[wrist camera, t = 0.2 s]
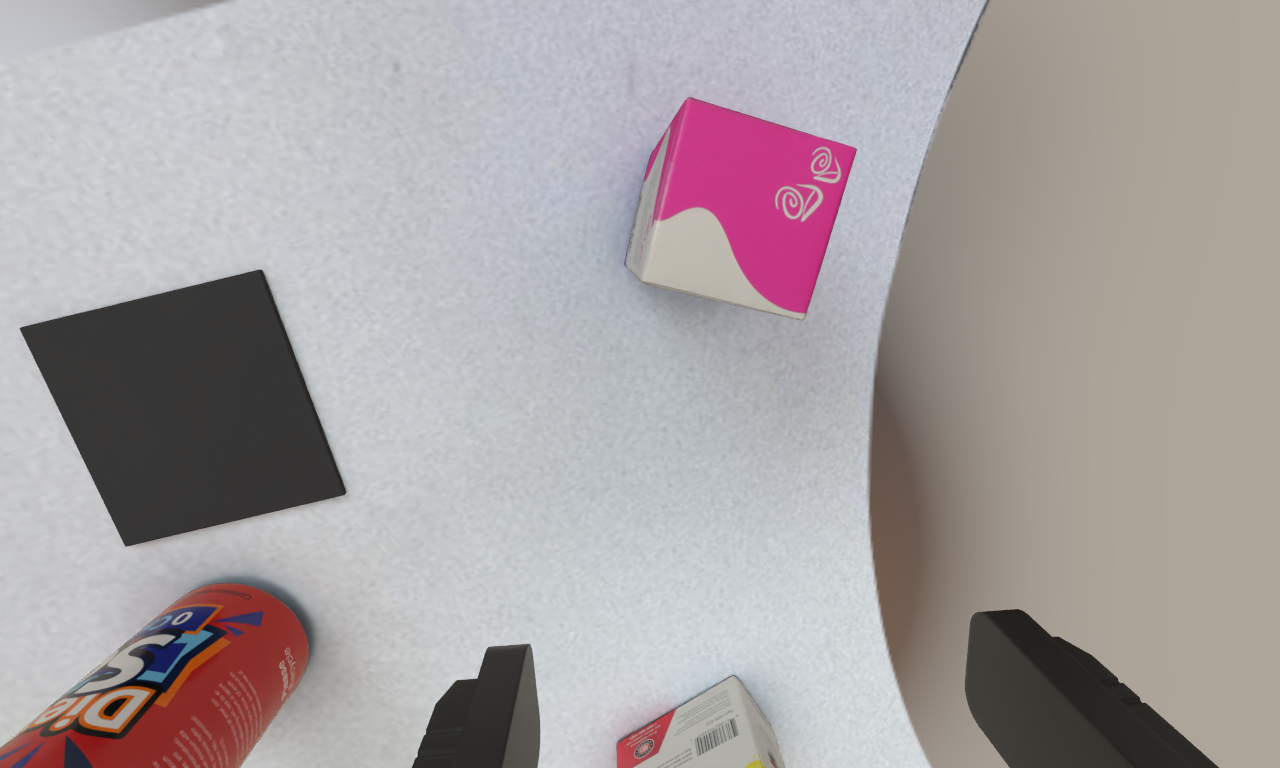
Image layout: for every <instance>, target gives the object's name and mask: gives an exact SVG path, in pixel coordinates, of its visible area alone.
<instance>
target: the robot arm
mask: <svg viewBox="0 0 1280 768" xmlns="http://www.w3.org/2000/svg"><path fill="white" fill-rule="evenodd" d="M965 692H966V698H967V702H968V705H969V708H970V711H971V713H972V715H973V717H974V719H975V721H976V723H977V724H978V725H979V727H980V728H981V730H982V731H983V732H984V734H985V735H986V736H987V737H988V739H989V740H990V742H991V743H992V744H993V746H994V747H995V748H996V750H997V751H998V752H999V754H1000V755H1001V757H1002V758H1003V759H1004V761H1005V762H1006V763H1007V764H1008V766H1009V767H1010V768H1219V767H1218V766H1217V765H1215V764H1214V763H1213V762H1212V761H1211V760H1209V758H1207V757H1206V756H1205V755H1204V754H1203V753H1202V752H1201V751H1200V750H1198V749H1197V748H1196V747H1195V746H1194V745H1193V744H1192V743H1191V742H1189V741H1188V740H1187V739H1186V738H1185V737H1184V736H1183V735H1181V734H1180V733H1179V732H1178V731H1177V730H1176V729H1174V727H1172V726H1171V725H1170V724H1169V723H1168V722H1167V721H1166V720H1164V719H1163V718H1162V717H1161V716H1160V715H1159V714H1158V713H1157V712H1155V711H1154V710H1153V709H1152V708H1151V707H1150V706H1149V705H1147V704H1146V703H1142V702H1141V701H1140V697H1138V696H1137V695H1136V694H1135V693H1134V692H1133V691H1132V690H1131V689H1129V688H1128V687H1127V686H1126V685H1125V684H1124V683H1119V681H1118V678H1117V677H1116V676H1115V675H1114V674H1112V673H1111V672H1110V671H1109V670H1108V669H1107V668H1106V667H1104V666H1103V665H1102V664H1101V663H1100V662H1099V661H1098V660H1097V659H1095V658H1094V657H1093V656H1092V655H1090V654H1089V653H1087V652H1084V651H1083V650H1081V649H1080V648H1078V647H1076V646H1074V645H1072V644H1071V643H1069V642H1067V641H1065V640H1063V639H1062V638H1060V637H1052V636H1051V635H1049V634H1048V633H1047V632H1046V631H1045V630H1044V629H1043V628H1042V627H1041V626H1040V625H1039V624H1037V622H1035V621H1034V620H1033V619H1032V618H1031V617H1030V616H1029V615H1028V614H1027V613H1025V612H1024V611H1022V610H1019V609H1015V610H1001V611H987V612H977V613H975V614H974V615H973V616H972V618H971V621H970V630H969V642H968V654H967V665H966V677H965ZM539 749H540V716H539V706H538V698H537V689H536V680H535V671H534V662H533V653H532V648H531V645H530V644H522V645H508V646H495V647H488V648H487V650H486V653H485V656H484V659H483V663H482V666H481V669H480V672H479V676H478V679H468V680H457V681H456V682H455V683H454V684H453V685H452V686H451V687H450V688H449V690H448V691H447V692H446V693H445V694H444V695H443V696H442V698H441V699H440V700H439V701H438V702H437V703H436V705H435V708H434V711H433V713H432V716H431V719H430V721H429V724H428V727H427V729H426V735H424V737H423V740H422V742H421V745H420V748H419V750H418V757H417V758H415V761H414V764H413V766H412V768H537V766H538V759H539Z"/></svg>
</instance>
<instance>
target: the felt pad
mask: <svg viewBox="0 0 1280 768" xmlns="http://www.w3.org/2000/svg"><path fill="white" fill-rule="evenodd" d="M20 330H21V332H22V334H23V336H24V338H25V341H26V343H27V345H28V347H29V349H30V351H31V353H32V355H33V357H34V359H35V361H36V363H37V365H38V367H39V369H40V371H41V373H42V376H43V378H44V380H45V382H46V384H47V386H48V388H49V390H50V392H51V394H52V396H53V398H54V400H55V402H56V404H57V406H58V409H59V411H60V413H61V415H62V417H63V419H64V421H65V423H66V425H67V427H68V429H69V431H70V433H71V435H72V437H73V439H74V441H75V444H76V446H77V448H78V450H79V452H80V454H81V456H82V458H83V460H84V462H85V464H86V466H87V468H88V470H89V472H90V474H91V477H92V479H93V481H94V483H95V485H96V487H97V489H98V491H99V493H100V495H101V497H102V499H103V501H104V503H105V505H106V507H107V509H108V512H109V514H110V516H111V518H112V520H113V522H114V524H115V526H116V528H117V530H118V532H119V534H120V536H121V538H122V540H123V542H124V545H125V546H130V545H135V544H139V543H143V542H147V541H152V540H156V539H160V538H164V537H168V536H173V535H177V534H181V533H185V532H190V531H194V530H198V529H202V528H207V527H211V526H215V525H219V524H224V523H228V522H232V521H236V520H241V519H245V518H249V517H253V516H257V515H262V514H266V513H270V512H274V511H279V510H283V509H287V508H291V507H296V506H300V505H304V504H308V503H313V502H317V501H321V500H325V499H329V498H334V497H338V496H342V495H345V494H346V491H345V488H344V486H343V483H342V480H341V478H340V475H339V473H338V470H337V467H336V465H335V462H334V459H333V457H332V454H331V451H330V449H329V446H328V443H327V441H326V438H325V436H324V433H323V430H322V428H321V425H320V422H319V420H318V417H317V414H316V412H315V409H314V407H313V404H312V401H311V399H310V396H309V393H308V391H307V388H306V385H305V383H304V380H303V378H302V375H301V372H300V370H299V367H298V364H297V362H296V359H295V356H294V354H293V351H292V348H291V346H290V343H289V341H288V338H287V335H286V333H285V330H284V327H283V325H282V322H281V319H280V317H279V314H278V312H277V309H276V306H275V304H274V301H273V298H272V296H271V293H270V290H269V288H268V285H267V282H266V280H265V277H264V275H263V272H262V270H257V271H253V272H248V273H244V274H240V275H236V276H232V277H228V278H224V279H220V280H215V281H211V282H207V283H203V284H199V285H195V286H191V287H186V288H182V289H178V290H174V291H170V292H166V293H162V294H158V295H153V296H149V297H145V298H141V299H137V300H133V301H129V302H125V303H120V304H116V305H112V306H108V307H104V308H100V309H96V310H91V311H87V312H83V313H79V314H75V315H71V316H67V317H63V318H58V319H54V320H50V321H46V322H42V323H38V324H34V325H30V326H25V327H21V328H20Z"/></svg>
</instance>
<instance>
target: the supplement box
mask: <svg viewBox="0 0 1280 768" xmlns="http://www.w3.org/2000/svg"><path fill="white" fill-rule="evenodd" d="M856 151H857V149H856V148H854V147H851V146H848V145H845V144H841V143H838V142H834V141H831V140H827V139H824V138H820V137H817V136H814V135H811V134H807V133H804V132H801V131H798V130H794V129H791V128H788V127H785V126H782V125H779V124H775V123H772V122H768V121H765V120H762V119H759V118H756V117H753V116H749V115H746V114H743V113H740V112H737V111H733V110H730V109H727V108H723V107H720V106H717V105H714V104H711V103H707V102H704V101H700V100H697V99H694V98H691V97H690V98H687V99H686V100H685V102H684V103H683V105H682V106H681V108H680V109H679V111H678V113H677V114H676V116H675V117H674V119H673V120H672V122H671V124H670V125H669V127H668V129H667V130H666V132H665V133H664V135H663V137H662V138H661V140H660V141H659V143H658V144H657V146H656V148H655V149H654V150H653V152H652V154H651V156H650V159H649V163H648V166H647V170H646V174H645V177H644V181H643V185H642V189H641V193H640V197H639V201H638V206H637V209H636V213H635V218H634V222H633V227H632V231H631V235H630V240H629V244H628V249H627V254H626V258H625V263H624V265H625V266H626V267H627V268H628V269H629V270H630V271H631V272H632V273H633V274H634V275H635V276H636V277H637V278H638V279H639V280H640V281H641V282H642V283H645V284H648V285H651V286H655V287H659V288H663V289H667V290H671V291H675V292H680V293H684V294H688V295H693V296H697V297H701V298H705V299H710V300H714V301H718V302H722V303H726V304H731V305H735V306H740V307H744V308H748V309H753V310H757V311H762V312H767V313H771V314H776V315H780V316H784V317H789V318H793V319H797V320H804V318H805V317H806V313H807V309H808V307H809V304H810V301H811V297H812V294H813V291H814V288H815V284H816V281H817V278H818V274H819V271H820V268H821V265H822V262H823V258H824V255H825V252H826V249H827V245H828V242H829V239H830V235H831V232H832V229H833V225H834V222H835V219H836V216H837V213H838V210H839V206H840V203H841V200H842V196H843V193H844V190H845V187H846V183H847V180H848V176H849V173H850V170H851V167H852V164H853V161H854V158H855V154H856Z"/></svg>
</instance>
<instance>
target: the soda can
mask: <svg viewBox="0 0 1280 768" xmlns="http://www.w3.org/2000/svg"><path fill="white" fill-rule="evenodd" d="M308 658H309V647H308V641H307V637H306V633H305V631H304V628H303V626H302V624H301V623H300V621H299V619H298V618H297V616H296V615H295V614H294V613H293V612H292V610H291V609H290V608H289V607H288V606H287V605H285V604H284V603H283V602H282V601H280V600H279V599H278V598H276V597H275V596H273V595H271V594H269V593H267V592H265V591H263V590H261V589H258V588H255V587H252V586H248V585H243V584H235V583H220V584H212V585H207V586H204V587H200V588H198V589H195V590H193V591H191V592H189V593H188V594H186V595H184V596H183V597H181V598H180V599H178V600H177V601H176V602H174V603H173V604H172V605H171V606H169V607H168V608H167V609H166V610H164V611H163V612H162V613H161V614H160V615H158V616H157V617H156V618H155V619H154V620H153V621H151V622H150V623H149V624H148V625H147V626H145V627H144V628H143V629H142V630H141V631H139V632H138V633H137V634H136V635H135V636H133V637H132V638H131V639H130V640H129V641H127V642H126V643H125V644H124V645H123V646H121V647H120V648H119V649H118V650H117V651H115V652H114V653H113V654H112V655H111V656H109V657H108V658H107V659H106V660H105V661H103V662H102V663H101V664H100V665H99V666H97V667H96V668H95V669H94V670H93V671H91V672H90V673H89V674H88V675H87V676H85V677H84V678H83V679H82V680H81V681H79V682H78V683H77V684H76V685H75V686H73V687H72V688H71V689H70V690H69V691H67V692H66V693H65V694H64V695H63V696H61V697H60V698H59V699H58V700H57V701H55V702H54V703H53V704H52V705H51V706H50V707H48V708H47V709H46V710H45V711H44V712H42V713H41V714H40V715H39V716H38V717H36V718H35V719H34V720H33V721H32V722H30V723H29V724H28V725H27V726H26V727H24V728H23V729H22V730H21V731H20V732H18V733H17V734H16V735H15V736H14V737H12V738H11V739H10V740H9V741H8V742H6V743H5V744H4V745H3V746H2V747H0V768H240V767H241V766H242V764H243V763H244V762H245V760H246V759H247V757H248V756H249V754H250V753H251V752H252V750H253V749H254V747H255V746H256V744H257V743H258V742H259V740H260V739H261V737H262V736H263V734H264V733H265V732H266V730H267V729H268V727H269V726H270V724H271V723H272V722H273V720H274V719H275V717H276V716H277V715H278V713H279V712H280V710H281V709H282V707H283V706H284V705H285V703H286V702H287V700H288V699H289V697H290V696H291V695H292V693H293V692H294V690H295V689H296V687H297V686H298V684H299V683H300V681H301V679H302V677H303V675H304V673H305V670H306V668H307V664H308Z"/></svg>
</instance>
